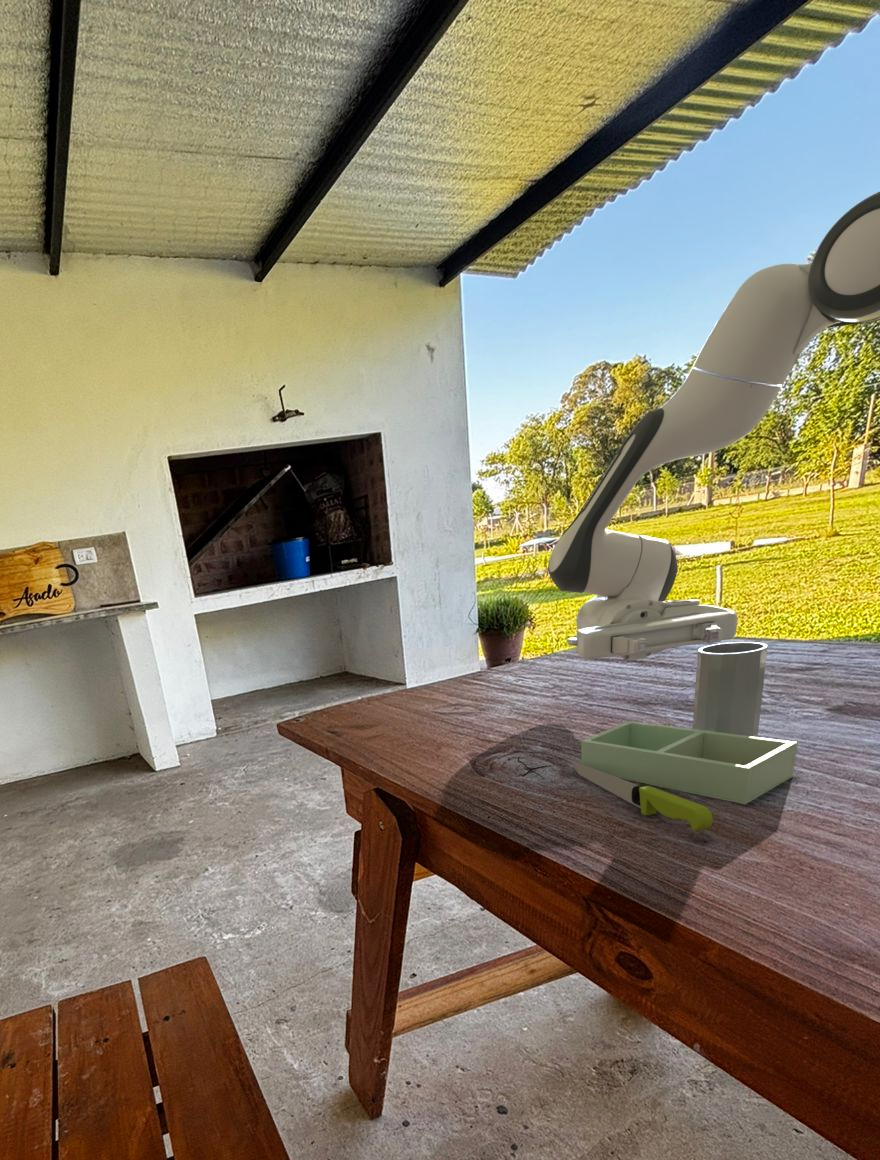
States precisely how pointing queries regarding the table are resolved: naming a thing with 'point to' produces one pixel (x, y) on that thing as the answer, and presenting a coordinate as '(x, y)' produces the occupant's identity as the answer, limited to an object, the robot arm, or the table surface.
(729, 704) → the cutlery cup
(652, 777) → the divided tray
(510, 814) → the table surface
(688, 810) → the kitchen knife
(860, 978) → the table surface
